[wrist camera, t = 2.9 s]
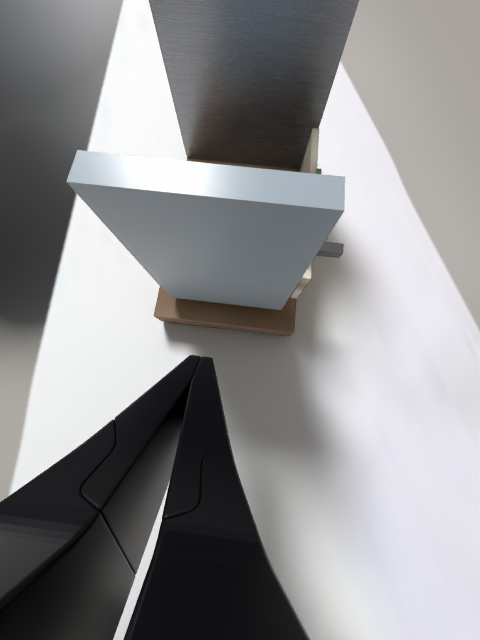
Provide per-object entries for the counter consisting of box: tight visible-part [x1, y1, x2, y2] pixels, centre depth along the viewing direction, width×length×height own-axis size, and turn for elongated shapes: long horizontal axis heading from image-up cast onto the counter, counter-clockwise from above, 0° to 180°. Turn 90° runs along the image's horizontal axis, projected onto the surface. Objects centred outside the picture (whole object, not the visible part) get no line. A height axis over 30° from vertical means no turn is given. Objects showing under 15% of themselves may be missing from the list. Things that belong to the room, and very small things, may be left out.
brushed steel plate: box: [149, 0, 359, 170], centre depth 13 cm, size 2×9×10 cm, turn 83°
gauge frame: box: [154, 128, 321, 336], centre depth 16 cm, size 14×9×5 cm, turn 173°
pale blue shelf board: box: [67, 150, 345, 310], centre depth 11 cm, size 4×9×9 cm, turn 83°
